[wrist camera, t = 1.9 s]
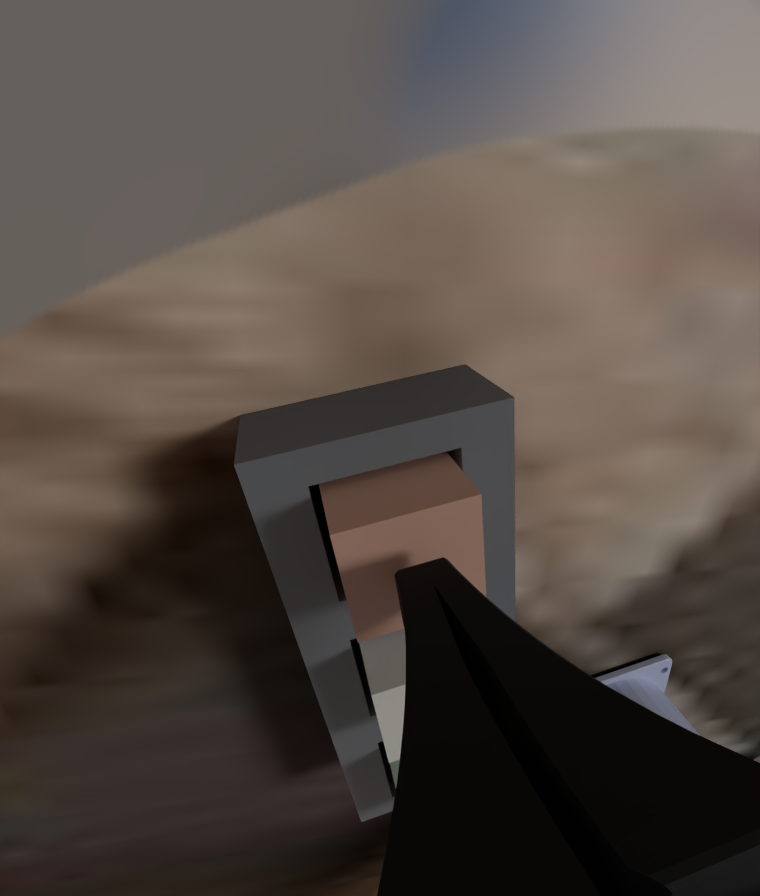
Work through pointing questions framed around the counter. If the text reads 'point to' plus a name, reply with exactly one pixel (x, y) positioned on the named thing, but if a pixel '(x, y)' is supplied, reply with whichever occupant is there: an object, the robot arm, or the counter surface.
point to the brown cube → (401, 533)
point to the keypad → (309, 550)
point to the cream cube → (387, 686)
